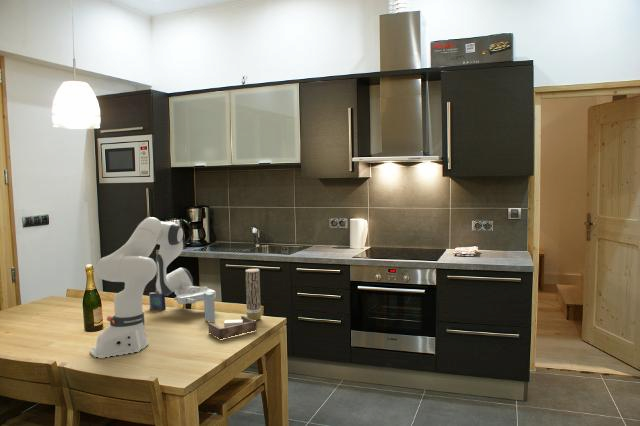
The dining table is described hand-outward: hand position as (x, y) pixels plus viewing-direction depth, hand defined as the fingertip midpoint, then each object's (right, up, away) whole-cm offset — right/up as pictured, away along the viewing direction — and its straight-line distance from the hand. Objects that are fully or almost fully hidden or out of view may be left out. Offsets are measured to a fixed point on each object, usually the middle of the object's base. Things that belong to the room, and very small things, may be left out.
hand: (202, 299), depth 253 cm
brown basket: (+20, -11, -26) cm, 34 cm away
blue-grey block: (+5, -9, -7) cm, 13 cm away
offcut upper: (+21, -8, -26) cm, 34 cm away
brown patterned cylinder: (+27, -9, -5) cm, 29 cm away
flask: (-28, -8, +18) cm, 35 cm away
